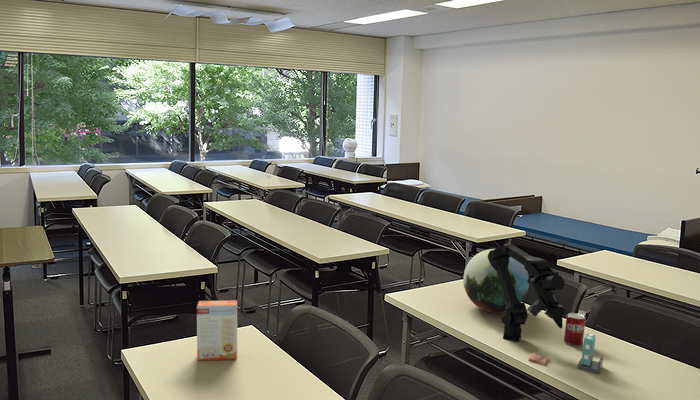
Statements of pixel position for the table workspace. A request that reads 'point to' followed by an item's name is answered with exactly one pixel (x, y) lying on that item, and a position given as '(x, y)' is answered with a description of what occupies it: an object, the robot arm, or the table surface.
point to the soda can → (574, 329)
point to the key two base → (592, 366)
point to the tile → (538, 358)
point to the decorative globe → (492, 282)
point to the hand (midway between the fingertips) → (561, 328)
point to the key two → (588, 349)
